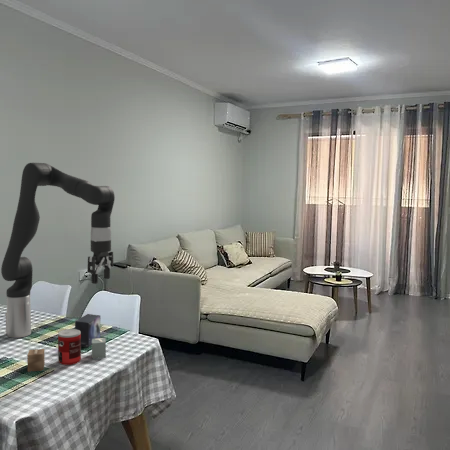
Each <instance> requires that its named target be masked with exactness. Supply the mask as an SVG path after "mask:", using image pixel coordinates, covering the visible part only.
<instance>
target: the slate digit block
mask: <svg viewBox="0 0 450 450" xmlns="http://www.w3.org/2000/svg"><path fill="white" fill-rule="evenodd" d="M106 341H107V338H106V337H100V338H97V339H92V345H91V359H94V360H95V359H105V358H107V350H106V349H107V348H106V347H107V343H106Z"/></svg>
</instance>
